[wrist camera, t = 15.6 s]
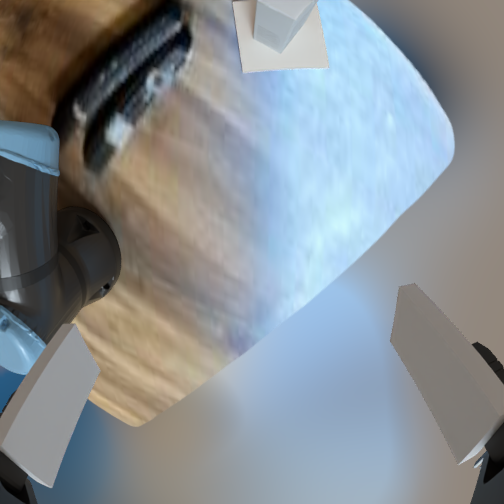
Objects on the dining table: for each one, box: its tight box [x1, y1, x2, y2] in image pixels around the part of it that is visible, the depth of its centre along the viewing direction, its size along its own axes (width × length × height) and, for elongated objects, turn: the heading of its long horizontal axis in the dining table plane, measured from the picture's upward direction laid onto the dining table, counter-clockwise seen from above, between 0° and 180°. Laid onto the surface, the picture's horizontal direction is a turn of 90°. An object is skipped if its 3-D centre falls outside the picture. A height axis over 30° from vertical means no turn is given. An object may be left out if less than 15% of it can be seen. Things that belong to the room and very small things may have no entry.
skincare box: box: [253, 0, 318, 54], centre depth 22 cm, size 6×4×12 cm
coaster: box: [232, 0, 329, 74], centre depth 28 cm, size 11×11×1 cm
